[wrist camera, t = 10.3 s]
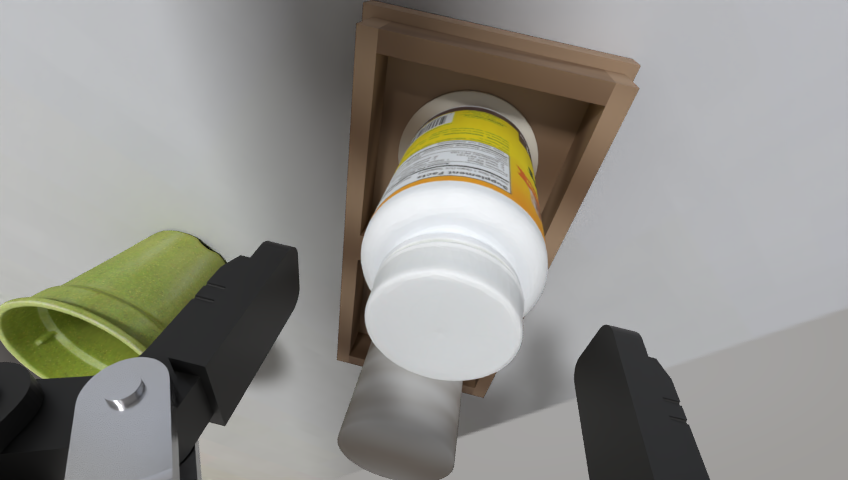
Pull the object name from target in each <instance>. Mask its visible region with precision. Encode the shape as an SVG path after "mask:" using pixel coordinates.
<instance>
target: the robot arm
mask: <svg viewBox="0 0 848 480" xmlns="http://www.w3.org/2000/svg"><path fill="white" fill-rule="evenodd" d="M298 296H299V269H298V252H297V249H296V248H295V247H291V246H287V245H283V244H278V243H274V242H270V241H265V242H263V243H262V244H261V245H260V247H259V248H258V249H257V250H256V251H255V253H254V254H253V255H252V256H251V257H250V258H249V257H245V256H241V255H240V256H238V257H237V258H235V259H233V260H231V261H230V262H228V263H226V264H225V265H223V266H221V267H220V268H219V269H218V270H217V271H216V272H215V274H214V275H213V276H212V277H211V278H210V279H209V280H208V281H207V284H206V286H203V287H202V288H201V289H200V290H199V291H198V293H197V294H196V295H195V298H194V299H191V300H190V301H189V303H188V304H187V305H186V306H185V307H184V308H183V309H182V310H181V311H180V313H179V314H178V315H177V316H176V317H175V318H174V319H173V320H172V321H171V323H170V324H169V325H168V326H167V327H166V328H165V329H164V330H163V331H162V333H161V334H160V335H159V336H158V337H157V338H156V339H155V340H154V341H153V343H152V344H151V345H150V346H149V347H148V348H147V349H146V350H145V351H144V352H143V353H142V354H141V355H139V356H138V357H136V358H130V359H125V360H122V361H119V362H117V363H114V364H112V365H110V366H108V367H106V368H104V369H103V370H101V371H100V372H99V373H97V374H96V375H93V376H82V377H65V378H47V379H35V378H34V377H33V376H32V375H31V374H30V372H29V371H28V370H27V369H26V368H25V367H23V366H21V365H19V364H16V363H9V362H0V480H202V478H201V465H200V453H199V441H198V438H199V437H200V435H201V434H202V432H203V431H204V429H205V427H206V426H207V424H208V423H209V422H211V423H215V424H218V425H222V426H225V425H226V424H227V422H228V420H229V419H230V417H231V415H232V414H233V412H234V410H235V408H236V407H237V405H238V403H239V402H240V400H241V398H242V397H243V395H244V393H245V391H246V390H247V388H248V386H249V385H250V383H251V381H252V380H253V378H254V376H255V375H256V373H257V371H258V369H259V368H260V366H261V364H262V363H263V361H264V359H265V358H266V356H267V354H268V352H269V351H270V349H271V347H272V346H273V344H274V342H275V341H276V339H277V337H278V335H279V334H280V332H281V330H282V329H283V327H284V325H285V324H286V322H287V320H288V319H289V317H290V315H291V313H292V312H293V310H294V308H295V305H296V303H297V300H298ZM574 383H575V390H576V396H577V402H578V409H579V415H580V422H581V428H582V434H583V440H584V447H585V453H586V459H587V466H588V473H589V479H590V480H710V479H709V476H708V473H707V471H706V468H705V465H704V463H703V460H702V458H701V455H700V452H699V450H698V447H697V445H696V442H695V439H694V437H693V434H692V432H691V429H690V426H689V425H688V424H687V423H686V421H687V419H686V416H685V413H684V411H683V408H682V406H680V405H679V402H680V400H679V398H678V395H677V393H676V390H675V387H674V384H673V382H672V380H671V378H670V377H669V375H668V374H667V373H666V371H665V370H664V369H663V367H662V366H661V365H660V363H659V362H658V361H657V359H655V358H651V357H648V354H647V351H646V348H645V345H644V343H643V340H642V337H641V336H640V334H639V333H637V332H634V331H630V330H626V329H622V328H618V327H614V326H610V325H604V326H602V327H601V328H600V329H599V331H598V332H597V334H596V335H595V336H594V338H593V339H592V341H591V342H590V343H589V345H588V346H587V347H586V349H585V350H584V352H583V353H582V354H581V356H580V357H579V359H578V361H577V363H576V367H575V372H574Z"/></svg>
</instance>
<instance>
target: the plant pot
mask: <svg viewBox="0 0 848 480" xmlns="http://www.w3.org/2000/svg"><path fill="white" fill-rule="evenodd" d="M223 265H225V262H224V261H223V259H222V258H221V257H220V256H219V254H217V253H216V252H213V251H211V250H209V249H207V248H206V247H205V246H203V245H202V244H201V243H200V241H199V240H198V239H197V238H196V237H194V236H191V235H189V234H186V233H183V232H179V231H161V232H158V233H156V234H154V235H152V236H150V237H148V238H146V239H144V240H143V241H141V242H139V243H137V244H136V245H134V246H132V247H130V248H129V249H127V250H125V251H123V252H122V253H120V254H118V255H116V256H114V257H113V258H111V259H109V260H107V261H105V262H103V263H102V264H100V265H98V266H96V267H94V268H93V269H91V270H89V271H87V272H85V273H83V274H82V275H80V276H78V277H76V278H74V279H72V280H71V281H69V282H67V283H65V284H63V285H61V286H55V287H51V288H48V289H45V290H43V291H41V292H39V293H37V294H35V295H34V296H32V297H25V298H17V299H13V300H10V301H8V302H5V303H4V304H2V305H1V306H0V339H1V341H2V343H3V344H4V346H5V347H6V348H7V349H8V350H9V352H10V353H11V354H12V355H13V356H14V357H15V358H16V359H17V360H18V361H20V362H21V363H22V364H23V365H24V366H25V367H27V368H28V369H29V370H31V371H32V372H34V373H35V374H36V375H38V376H39V377H41V378H42V379H47V378H65V377H82V376H93V375H96V374H97V373H99V372H100V371H101V370H103V369H104V368H106V367H108V366H110V365H112V364H114V363H117V362H119V361H122V360H125V359H130V358H136V357H138V356H139V355H141V354H142V353H143V352H144V351H145V350H146V349H147V348H148V347H149V346H150V345H151V344H152V343H153V341H154V340H155V339H156V338H157V337H158V336H159V335H160V334H161V333H162V331H163V330H164V329H165V328H166V327H167V326H168V325H169V324H170V323H171V321H172V320H173V319H174V318H175V317H176V316H177V315H178V314H179V313H180V311H181V310H182V309H183V308H184V307H185V306H186V305H187V304H188V303H189V301H190V300H191V299H194V298H195V295H196V294H197V293H198V291H199V290H200V289H201V288H202V287H203V286H206V284H207V281H208V280H209V279H210V278H211V277H212V276H213V275H214V274H215V272H216V271H217V270H218V269H219V268H220V267H221V266H223Z"/></svg>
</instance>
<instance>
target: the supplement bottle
mask: <svg viewBox="0 0 848 480" xmlns="http://www.w3.org/2000/svg"><path fill="white" fill-rule="evenodd" d="M361 264H362V270H363V274H364V277H365V280H366V282H367V285H368V287H369V289H370V290H371V293H370V296H369V298H368V301H367V304H366V308H365V315H364V316H365V324H366V328H367V332H368V334H369V336H370V338H371V340H372V342H373V343H374V344H375V346H376V347H377V348H378V349H379V350H380V351H381V352H382V353H383V354H384V356H386V357H387V358H388V359H389V360H391V361H392V362H393V363H395V364H397V365H398V366H400V367H402V368H404V369H406V370H408V371H410V372H413V373H415V374H418V375H421V376H424V377H428V378H432V379H438V380H446V381H465V380H473V379H478V378H482V377H485V376H488V375H490V374H493V373H495V372H497V371H499V370H501V369H502V368H504V367H505V366H506V365H508V364H509V363H510V362H511V361H512V360H513V358H514V357H515V356H516V355H517V353H518V351H519V349H520V347H521V343H522V338H523V317H524V316H526V315H527V314H528V313H529V312H530V311H531V309H532V308H533V307H534V306H535V304H536V303H537V301H538V300H539V298H540V296H541V294H542V292H543V290H544V287H545V284H546V280H547V273H548V258H547V249H546V243H545V236H544V231H543V225H542V219H541V213H540V207H539V200H538V194H537V188H536V183H535V176H534V171H533V164H532V159H531V154H530V150H529V147H528V144H527V142H526V140H525V138H524V136H523V134H522V133H521V131H520V130H519V129H518V128H517V126H516V125H515V124H514V123H513V122H512V121H511V120H509V119H508V118H507V117H505V116H504V115H502V114H500V113H498V112H496V111H494V110H491V109H488V108H485V107H480V106H459V107H453V108H450V109H447V110H444V111H442V112H440V113H438V114H436V115H435V116H433V117H431V118H430V119H429V120H428V121H426V122H425V123H424V124H423V125H422V126H421V128H420V129H419V130H418V131H417V133H416V134H415V136H414V138H413V139H412V141H411V143H410V145H409V147H408V148H407V150H406V152H405V154H404V156H403V158H402V160H401V162H400V164H399V166H398V167H397V169H396V171H395V173H394V175H393V177H392V179H391V181H390V183H389V185H388V187H387V189H386V191H385V193H384V195H383V197H382V199H381V201H380V202H379V204H378V206H377V208H376V210H375V212H374V214H373V216H372V218H371V220H370V222H369V224H368V226H367V229H366V232H365V234H364V238H363V241H362V246H361Z"/></svg>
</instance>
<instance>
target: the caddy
mask: <svg viewBox="0 0 848 480" xmlns="http://www.w3.org/2000/svg"><path fill="white" fill-rule="evenodd" d="M639 68H640V65H639V64H638V63H637V62H635V61H634V60H633V59H630V58H625V57H621V56H617V55H612V54H608V53H603V52H599V51H595V50H590V49H586V48H581V47H577V46H573V45H568V44H564V43H559V42H555V41H551V40H546V39H542V38H537V37H533V36H528V35H524V34H520V33H515V32H511V31H506V30H502V29H498V28H493V27H489V26H484V25H480V24H476V23H471V22H467V21H462V20H458V19H454V18H449V17H445V16H440V15H436V14H432V13H427V12H423V11H418V10H414V9H409V8H405V7H401V6H396V5H392V4H387V3H383V2H379V1H374V0H370V1H367V2H363V12H362V21H361V22H359V23H356V38H355V55H354V73H353V90H352V107H351V125H350V142H349V159H348V177H347V194H346V211H345V229H344V246H343V263H342V281H341V298H340V316H339V333H338V350H337V360H339V361H343V362H347V363H351V364H355V365H359V366H362V370H361V373H360V376H359V378H358V381H357V384H356V387H355V390H354V393H353V395H352V398H351V401H350V404H349V407H348V410H347V412H346V415H345V418H344V421H343V424H342V427H341V430H340V432H339V435H338V445H339V448H340V449H341V451H342V452H343V454H344V455H345V456H346V457H347V458H348V459H349V460H351V461H352V462H353V463H355V464H356V465H358V466H360V467H361V468H363V469H365V470H367V471H369V472H372V473H374V474H377V475H379V476H382V477H386V478H389V479H393V480H439V479H442V478H444V477H446V476H448V475H449V474H450V473H451V472H452V470H453V468H454V461H455V451H456V441H457V432H458V422H459V413H460V403H461V393H462V392H463V393H467V394H471V395H474V396H478V397H482V398H484V396H485V394H486V392H487V390H488V388H489V386H490V384H491V382H492V380H493V378H494V376H495V374H496V372H495V373H493V374H490V375H488V376H485V377H482V378H478V379H473V380H465V381H446V380H438V379H432V378H428V377H424V376H421V375H418V374H415V373H413V372H410V371H408V370H406V369H404V368H402V367H400V366H398V365H397V364H395V363H393V362H392V361H391V360H389V359H388V358H387V357H386V356H384V354H383V353H382V352H381V351H380V350H379V349H378V348H377V347H376V346H375V344H374V343H373V342H372V340H371V338H370V336H369V334H368V332H367V328H366V324H365V316H364V315H365V308H366V304H367V301H368V298H369V296H370V293H371V290H370V289H369V287H368V285H367V282H366V280H365V277H364V274H363V270H362V264H361V246H362V241H363V238H364V234H365V232H366V229H367V226H368V224H369V222H370V220H371V218H372V216H373V214H374V212H375V210H376V208H377V206H378V204H379V202H380V201H381V199H382V197H383V195H384V193H385V191H386V189H387V187H388V185H389V183H390V181H391V179H392V177H393V175H394V173H395V171H396V169H397V167H398V166H399V164H400V162H401V160H402V158H403V156H404V154H405V152H406V150H407V148H408V147H409V145H410V143H411V141H412V139H413V138H414V136H415V134H416V133H417V131H418V130H419V129H420V128H421V126H422V125H423V124H424V123H425V122H426V121H428V120H429V119H430V118H431V117H433V116H435V115H436V114H438V113H440V112H442V111H444V110H447V109H450V108H453V107H459V106H480V107H485V108H488V109H491V110H494V111H496V112H498V113H500V114H502V115H504V116H505V117H507V118H508V119H509V120H511V121H512V122H513V123H514V124H515V125H516V126H517V128H518V129H519V130H520V131H521V133H522V134H523V136H524V138H525V140H526V142H527V144H528V147H529V150H530V154H531V159H532V164H533V171H534V176H535V183H536V188H537V194H538V200H539V207H540V213H541V219H542V225H543V231H544V236H545V243H546V249H547V258H548V269H549V267H550V265H551V263H552V261H553V259H554V257H555V255H556V253H557V251H558V249H559V247H560V245H561V243H562V241H563V239H564V237H565V235H566V233H567V231H568V229H569V227H570V225H571V223H572V221H573V219H574V217H575V215H576V213H577V211H578V209H579V207H580V205H581V203H582V202H583V200H584V198H585V196H586V194H587V192H588V190H589V188H590V186H591V184H592V182H593V180H594V178H595V176H596V174H597V172H598V170H599V168H600V166H601V164H602V162H603V160H604V158H605V156H606V154H607V152H608V150H609V148H610V146H611V144H612V142H613V140H614V138H615V136H616V134H617V132H618V130H619V128H620V126H621V124H622V122H623V120H624V118H625V116H626V114H627V112H628V110H629V108H630V106H631V104H632V102H633V100H634V98H635V96H636V94H637V92H638V90H639V87H637V86H636V85H635V84H634V83H633V81H634V78H635V76H636V74H637V72H638V70H639ZM524 317H525V316H524ZM524 317H523V319H524Z"/></svg>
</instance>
